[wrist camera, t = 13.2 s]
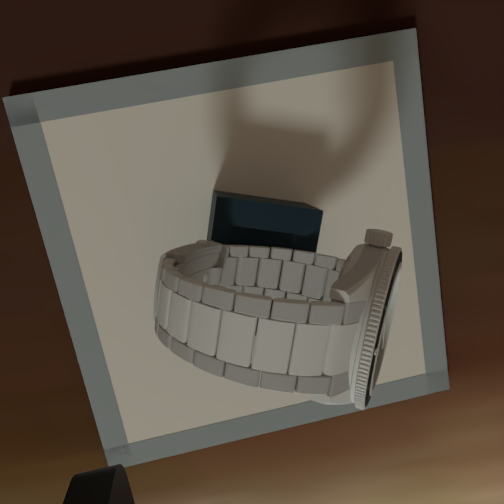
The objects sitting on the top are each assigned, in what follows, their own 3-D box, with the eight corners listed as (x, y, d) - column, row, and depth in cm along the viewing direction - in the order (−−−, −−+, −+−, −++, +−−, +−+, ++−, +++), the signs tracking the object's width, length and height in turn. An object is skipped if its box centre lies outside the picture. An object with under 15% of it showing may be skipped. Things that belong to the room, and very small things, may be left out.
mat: (111, 462, 24) (109, 470, 23) (7, 99, 20) (2, 97, 19) (443, 383, 25) (449, 389, 25) (409, 31, 21) (415, 27, 21)
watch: (324, 318, 23) (439, 461, 12) (160, 302, 22) (130, 444, 11) (345, 206, 22) (490, 256, 11) (174, 182, 21) (156, 212, 10)
